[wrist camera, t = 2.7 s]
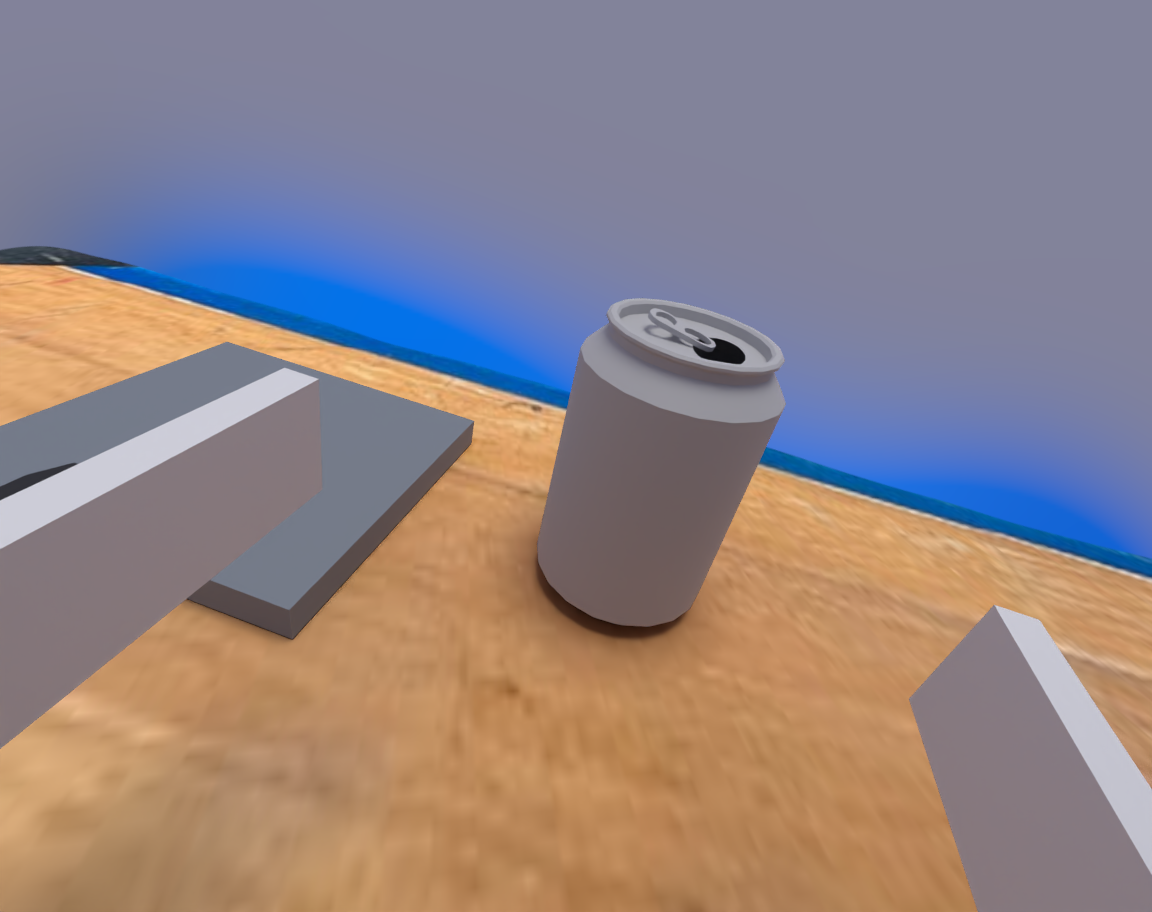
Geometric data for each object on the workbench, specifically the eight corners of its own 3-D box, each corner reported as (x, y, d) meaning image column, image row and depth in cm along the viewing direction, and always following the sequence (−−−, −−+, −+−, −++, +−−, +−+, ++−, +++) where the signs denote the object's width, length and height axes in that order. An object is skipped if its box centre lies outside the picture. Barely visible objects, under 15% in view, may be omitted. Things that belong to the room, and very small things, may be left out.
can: (675, 671, 21) (807, 398, 15) (503, 593, 22) (557, 316, 16) (704, 556, 27) (806, 330, 21) (569, 501, 29) (625, 275, 22)
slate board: (471, 443, 31) (474, 421, 31) (292, 639, 19) (289, 609, 18) (230, 364, 33) (227, 341, 32) (-82, 495, 21) (-100, 463, 20)
